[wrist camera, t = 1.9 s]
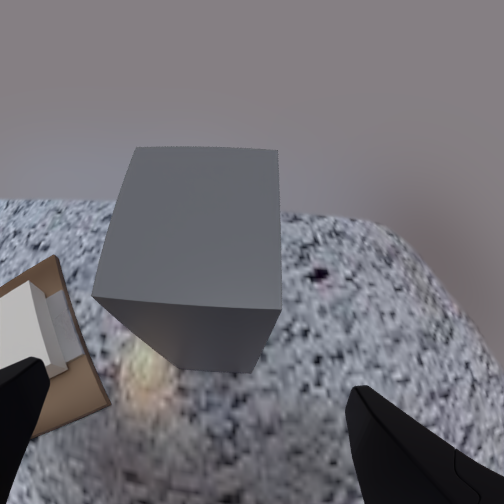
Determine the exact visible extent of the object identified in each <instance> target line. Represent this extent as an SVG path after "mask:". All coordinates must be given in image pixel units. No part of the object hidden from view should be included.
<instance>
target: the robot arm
mask: <svg viewBox="0 0 504 504" xmlns="http://www.w3.org/2000/svg"><path fill="white" fill-rule="evenodd" d="M49 388H50V379H49V376H48V373H47V370H46V367H45V364H44V362H43V361H42V359H40V358H36V357H32V356H31V357H28V358H26V359H23V360H21V361H19V362H16V363H14V364H12V365H9V366H7V367H5V368H2V369H0V504H6V502H7V499H8V496H9V493H10V490H11V487H12V485H13V482H14V479H15V476H16V474H17V471H18V468H19V466H20V463H21V461H22V458H23V456H24V453H25V451H26V448H27V446H28V444H29V441H30V439H31V437H32V434H33V432H34V430H35V427H36V425H37V422H38V419H39V416H40V413H41V410H42V407H43V404H44V402H45V399H46V396H47V393H48V390H49ZM345 415H346V421H347V428H348V434H349V440H350V447H351V454H352V459H353V463H354V467H355V470H356V474H357V478H358V481H359V485H360V489H361V492H362V496H363V500H364V503H365V504H504V476H502V475H500V474H498V473H496V472H494V471H492V470H490V469H488V468H486V467H484V466H483V465H481V464H479V463H477V462H476V461H474V460H473V459H471V458H470V457H468V456H466V455H465V454H463V453H462V452H460V451H459V450H457V449H455V448H454V447H453V446H451V445H450V444H449V443H447V442H446V441H444V440H443V439H441V438H440V437H438V436H437V435H436V434H434V433H433V432H431V431H430V430H429V429H427V428H426V427H424V426H423V425H421V424H420V423H419V422H417V421H416V420H414V419H413V418H412V417H410V416H409V415H407V414H406V413H405V412H403V411H402V410H401V409H399V408H398V407H396V406H395V405H394V404H392V403H391V402H390V401H388V400H387V399H385V398H384V397H383V396H381V395H380V394H379V393H377V392H376V391H375V390H373V389H372V388H371V387H369V386H367V385H362V386H354V387H353V388H352V390H351V393H350V396H349V399H348V402H347V405H346V409H345Z"/></svg>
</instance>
